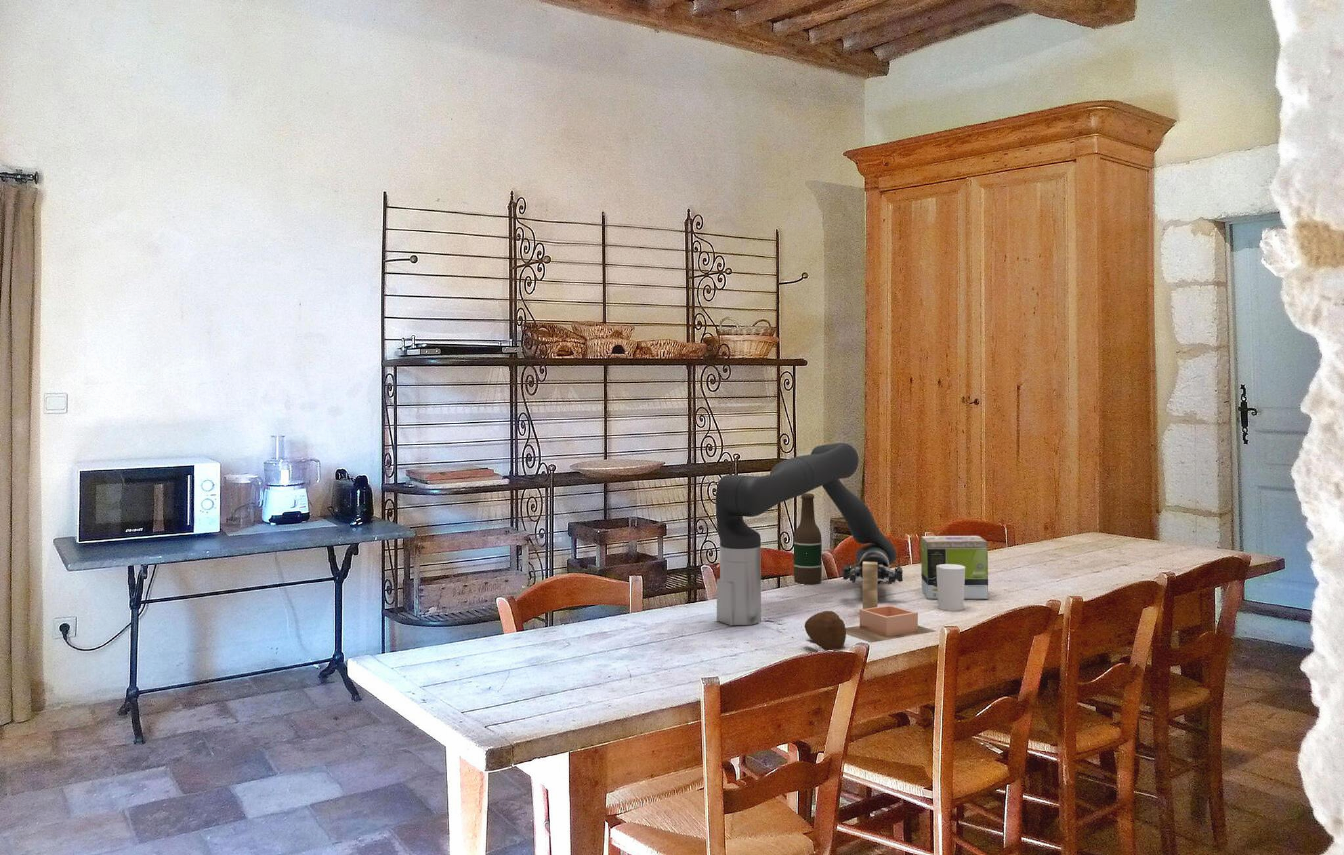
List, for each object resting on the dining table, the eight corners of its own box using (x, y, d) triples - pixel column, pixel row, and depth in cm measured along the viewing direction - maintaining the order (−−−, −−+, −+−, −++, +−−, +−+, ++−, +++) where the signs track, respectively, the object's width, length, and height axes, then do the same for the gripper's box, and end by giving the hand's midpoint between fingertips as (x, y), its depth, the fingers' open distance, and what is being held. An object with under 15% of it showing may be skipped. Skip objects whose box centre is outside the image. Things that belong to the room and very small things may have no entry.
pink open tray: (886, 636, 207) (886, 617, 207) (859, 628, 214) (859, 609, 214) (917, 631, 211) (917, 612, 211) (890, 623, 218) (890, 605, 218)
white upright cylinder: (966, 611, 234) (966, 569, 233) (937, 610, 235) (937, 568, 235) (964, 605, 240) (964, 564, 240) (935, 604, 242) (935, 563, 241)
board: (870, 648, 203) (870, 642, 202) (833, 635, 213) (833, 629, 213) (936, 636, 211) (936, 630, 211) (897, 624, 222) (897, 619, 222)
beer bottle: (813, 585, 265) (813, 496, 264) (788, 582, 270) (787, 494, 269) (827, 581, 271) (827, 493, 270) (802, 578, 276) (802, 491, 275)
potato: (830, 657, 196) (829, 617, 196) (797, 646, 204) (797, 608, 204) (857, 651, 200) (857, 612, 200) (824, 641, 208) (824, 604, 208)
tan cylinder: (859, 621, 225) (859, 564, 225) (860, 616, 230) (860, 560, 229) (879, 622, 224) (879, 565, 224) (880, 617, 229) (880, 561, 228)
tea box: (980, 591, 256) (980, 534, 255) (988, 600, 246) (989, 540, 245) (920, 591, 258) (920, 534, 257) (926, 599, 248) (926, 540, 247)
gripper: (845, 551, 255) (841, 562, 239) (902, 552, 251) (902, 564, 236) (845, 580, 255) (841, 593, 239) (902, 582, 252) (902, 595, 236)
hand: (871, 579), depth 237 cm, fingers open, 8 cm apart
